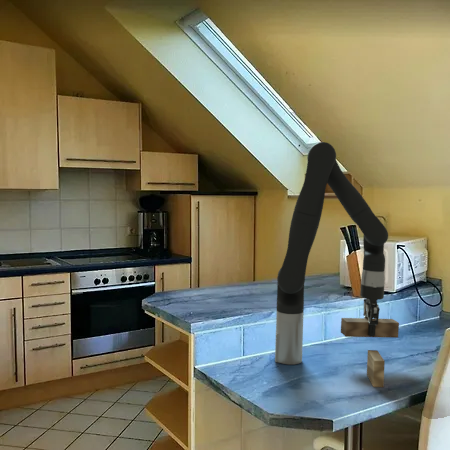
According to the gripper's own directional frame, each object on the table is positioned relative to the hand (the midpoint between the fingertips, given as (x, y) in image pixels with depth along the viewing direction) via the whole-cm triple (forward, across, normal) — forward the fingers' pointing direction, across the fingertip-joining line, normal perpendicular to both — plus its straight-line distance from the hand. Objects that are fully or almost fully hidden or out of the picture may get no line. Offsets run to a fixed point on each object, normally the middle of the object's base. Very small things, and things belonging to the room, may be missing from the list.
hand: (369, 333), depth 162 cm
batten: (+1, 0, 0) cm, 1 cm away
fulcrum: (+11, +14, 0) cm, 18 cm away
